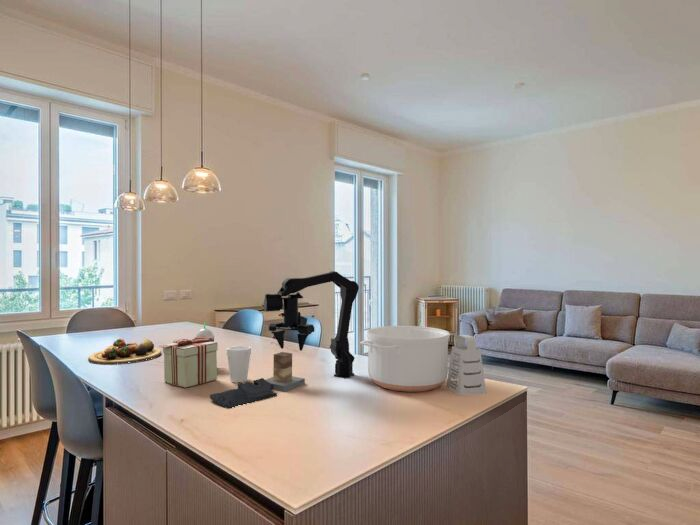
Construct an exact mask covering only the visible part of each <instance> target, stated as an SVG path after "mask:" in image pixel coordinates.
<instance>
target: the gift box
mask: <svg viewBox="0 0 700 525" xmlns="http://www.w3.org/2000/svg"><path fill="white" fill-rule="evenodd" d="M210 341H211V340H210V339H208V338H207V337H206V336H198V337H196V338H195V337H194V338H193V339H188V338H180V339H175V340H173V341H172V343H168V344H163V345H159V346H158V347H159V348H161V349H162V353H163V362H164V364H163V365H164V370H163V372H164V376H163V377H164V379H163V380H164V383H165V382H167V383H166V384H169V383H170V384H169V385H172V384H173V386H177V387H181V388H184V389H186V388H191V387H195V386H198V385H202V384H206V383H209V382H213V381H216V380H217V379H218V367H217V366H218V365H217V364H218V361H217V360H218V359H217V351H218V350H219V349H218V348H219V347H218V342H215V341H214V342H210Z"/></svg>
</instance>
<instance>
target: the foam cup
mask: <svg viewBox="0 0 700 525" xmlns="http://www.w3.org/2000/svg"><path fill="white" fill-rule="evenodd" d="M251 354H252V347H251V346H249V345H233V346H229V347H228V346H227V347H226V356H227V361H228V372H229V378H230V379H229V380H230V382H231V383H233V382H241V383H245V382H248V374H249V368H250V362H251V361H250V360H251ZM244 381H245V382H244Z"/></svg>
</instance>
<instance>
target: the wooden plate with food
mask: <svg viewBox="0 0 700 525" xmlns="http://www.w3.org/2000/svg"><path fill="white" fill-rule="evenodd" d="M161 354H162V350H161V349H160V348H158V347H155V344H154V342H153V341H152V340H150V339H148V338H146V339H145V340H143V341H142V342H141V343H137V342H130V343H126V342H125V339H123V338H118V339H116V341H114V342H113V343H112V345H109V346H107V347H105V349H104V350H100V351H96V352H94V353H92V354H90V355H89V356H88V359H87V360H88V361H89V363H91V362H92V363H91V364H95V363H100V364H99V365H118V364H117V363H127V364H129V363H128V362H135V363H137V362H136V361H142V360H146V359H151V358H154V357H156V358H158V357H160V356H161ZM159 355H160V356H159ZM157 356H158V357H157ZM154 359H155V358H154ZM151 360H152V359H151ZM142 362H143V361H142Z"/></svg>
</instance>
